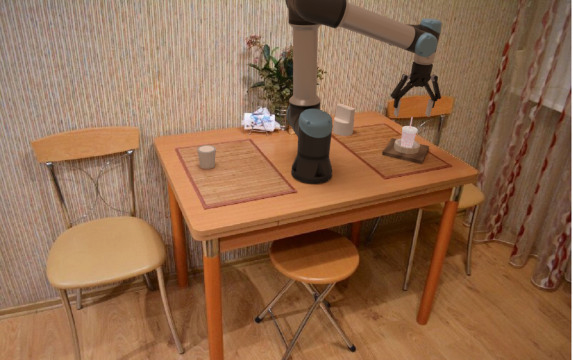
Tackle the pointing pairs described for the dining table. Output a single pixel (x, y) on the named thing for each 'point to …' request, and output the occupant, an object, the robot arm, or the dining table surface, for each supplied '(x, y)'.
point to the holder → (415, 157)
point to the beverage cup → (408, 135)
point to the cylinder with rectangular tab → (344, 120)
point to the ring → (406, 150)
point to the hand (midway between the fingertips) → (411, 115)
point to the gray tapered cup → (206, 156)
